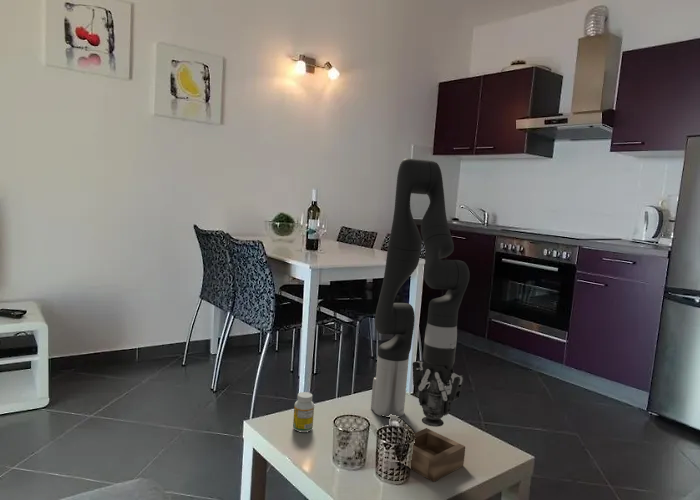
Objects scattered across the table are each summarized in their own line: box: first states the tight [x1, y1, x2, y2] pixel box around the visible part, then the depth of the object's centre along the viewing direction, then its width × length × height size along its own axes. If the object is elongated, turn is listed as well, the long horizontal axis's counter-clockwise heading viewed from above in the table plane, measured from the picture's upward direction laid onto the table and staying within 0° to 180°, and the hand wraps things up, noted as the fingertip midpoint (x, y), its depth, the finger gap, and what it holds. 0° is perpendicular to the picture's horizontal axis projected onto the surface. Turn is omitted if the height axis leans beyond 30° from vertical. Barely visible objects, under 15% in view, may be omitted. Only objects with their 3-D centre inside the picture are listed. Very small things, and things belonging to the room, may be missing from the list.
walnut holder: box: [410, 427, 466, 483], centre depth 127 cm, size 12×12×5 cm
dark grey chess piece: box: [421, 380, 444, 428], centre depth 125 cm, size 6×6×12 cm
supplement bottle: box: [292, 391, 315, 433], centre depth 139 cm, size 5×5×10 cm
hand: (433, 409), depth 125 cm, fingers closed on dark grey chess piece, 6 cm apart
